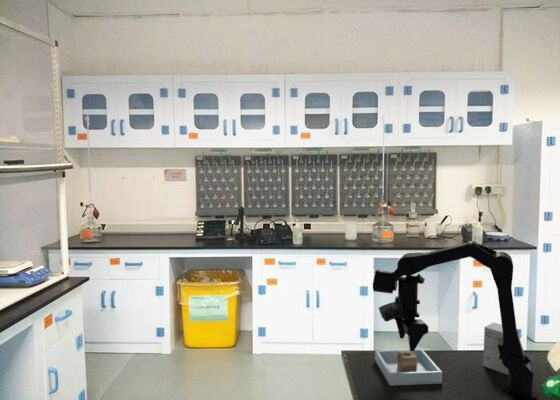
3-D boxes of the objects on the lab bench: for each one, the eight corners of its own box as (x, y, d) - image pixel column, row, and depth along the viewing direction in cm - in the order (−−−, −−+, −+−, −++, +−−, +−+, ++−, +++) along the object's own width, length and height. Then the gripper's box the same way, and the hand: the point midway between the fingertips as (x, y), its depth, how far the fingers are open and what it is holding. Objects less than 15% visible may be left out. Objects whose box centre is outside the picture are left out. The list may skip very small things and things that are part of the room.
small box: (517, 369, 138) (519, 329, 136) (508, 375, 134) (510, 334, 132) (491, 360, 144) (493, 321, 143) (482, 366, 140) (483, 326, 139)
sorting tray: (441, 383, 130) (442, 372, 129) (389, 385, 129) (389, 374, 129) (421, 359, 145) (422, 348, 145) (375, 360, 144) (375, 350, 144)
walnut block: (416, 372, 135) (417, 357, 134) (402, 373, 135) (402, 357, 134) (411, 365, 139) (411, 350, 139) (397, 366, 139) (397, 351, 139)
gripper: (373, 286, 143) (372, 333, 145) (391, 306, 125) (390, 359, 127) (407, 286, 144) (406, 332, 146) (429, 305, 126) (428, 357, 127)
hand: (406, 344), depth 136 cm, fingers open, 9 cm apart
